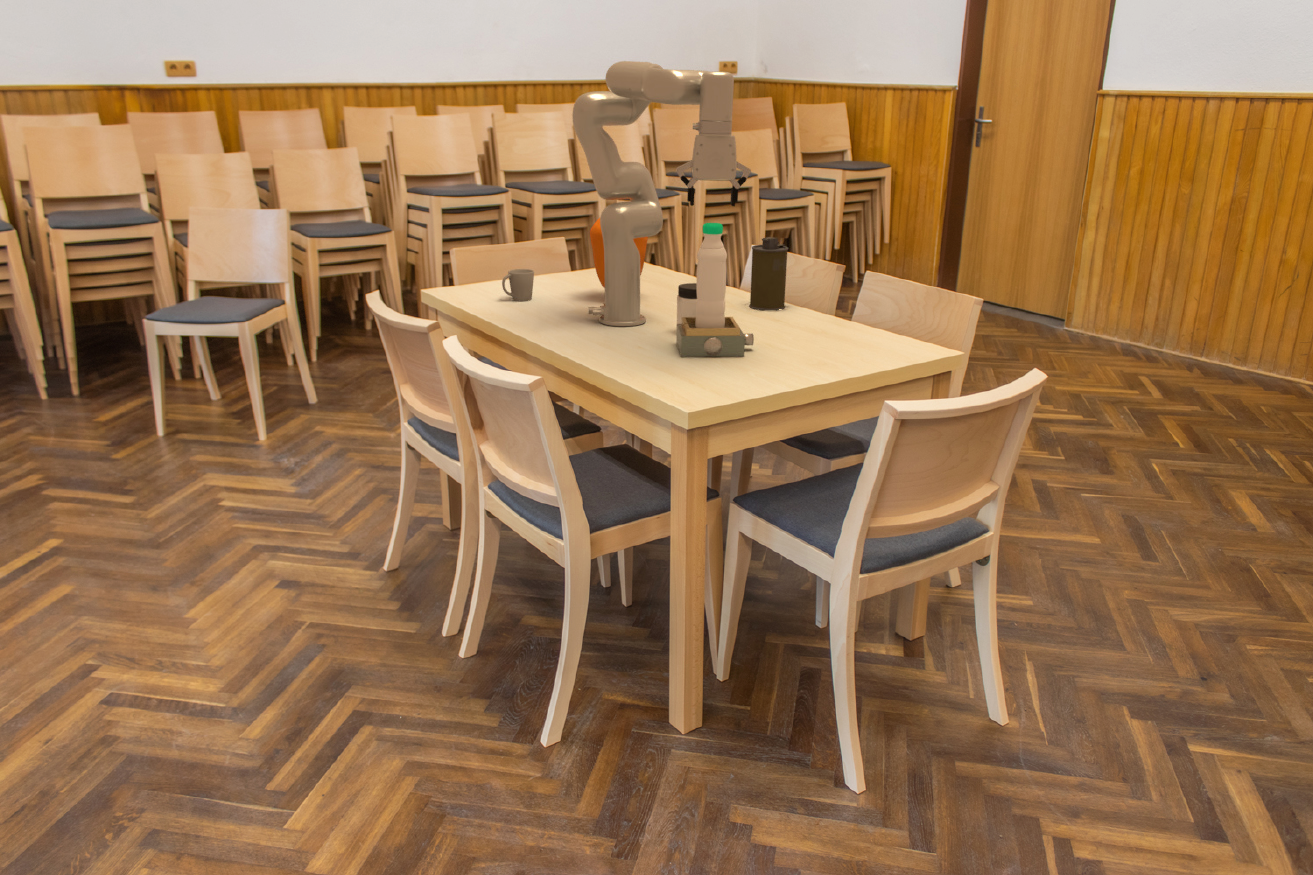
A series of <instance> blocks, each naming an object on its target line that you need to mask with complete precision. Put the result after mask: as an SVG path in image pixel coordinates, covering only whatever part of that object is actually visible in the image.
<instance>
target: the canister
mask: <svg viewBox="0 0 1313 875" xmlns="http://www.w3.org/2000/svg"><path fill="white" fill-rule="evenodd" d="M761 241H762V244H755V245H753V246H751V252H752V253H751V273H750V274H751V275H750V276H751V278H750V302H749V303H750V304H749V308H751V309H752V310H755V309H759V310H758V311H763V310H776V311H780V310H779V309H782V310H784V309H785V308H786V305H785V304H786V302H785V300H786V284H787V263H788V250H789V247H787V245H786V244H782V243H780V242H779V238H778V237H773V236H768V237H763V238H761Z"/></svg>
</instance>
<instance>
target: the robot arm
mask: <svg viewBox="0 0 1313 875" xmlns="http://www.w3.org/2000/svg"><path fill="white" fill-rule="evenodd" d="M734 81H735V78H734V75H733V73H731V72H728V71H707V70H699V69H698V70H695V69H668V68H667V69H665V68H663V66H661V65H659V64H657V63H652V62H648V61H634V60H633V61H631V60H630V61H626V60H623V61H617V62H614V64H612V65H611V66H609V68H608V70H607V71H606V74H605V83H606V84H605V85H606V87H607V88H608V90H607V91H606V90H604V91H603V90H601V91H600V90H598V91H597V90H596V91H588V92H585V93H583V94H581V95H579V96H578V97H577V98H576V100H575V102H574V105H573V108H572V114H571V115H572V125H573V130H574V132H575V134H576V137H577V139H578V141H579V143H580V145H581V147H582V149H583V152H584V155H585V158H586V162H587V165H588V167H589V172H590V175H591V178H592V182H593V185H594V188H595V191H596V193H597V195H598V196H599V197H600V199H602V200H607V201H615V200H618V201H619V200H629V201H619V202H614V203H611V204H609V205H607V206H606V207H604V209H603V210H602V212H601V214H600V217H599V218H600V225H601V231H602V236H603V242H604V264H605V288H604V303H603V305H599V306H587V307H588V310H587V311H588V314H589V315H593V316H598V315H599V321H598V322H600V323H601V324H602V325H606V326H611V327H633V326H638V325H642V324H644V323H646V320H647V318H646V316H645V315H643V314H641V276H640V254H639V251H638V248H637V247H636V245H635V243H634V240H633V239H635V238H641V237H648V238H649V237H653V236H656V235H658V234H659V233H660V232H661V230H662V228H663V223H664V217H663V216H664V215H663V209H662V206H661V203H660V199H659V197H658V193H657V190H656V188H655V187H656V186H655V184H654V183H655V182H654V181H653V178H652V174H651V171H650V170H648V168H647V167H646V166H645V164H642V163H640V162H638V161H623V160H622V158H621V157H620V154H619V153H620V152H619V150H618V147H617V144H616V142H615V141H614V139H613V138H612V137H611V135H610V134H609V133H608V132H607V131H606V130H605V129H604V126H605V127H606V126H607V127H608V126H609V127H611V126H612V127H613V126H614V127H615V126H616V127H617V126H619V127H620V126H621V127H622V126H629V125H632V124H634V123H635V122H636V121H637V120H638V119H640V117H641V116H642V114H643V113H644V112H645V111H646V109H647V108H648V107H649V106H650V104H651V103H655V104H656V103H657V104H662V105H663V104H664V105H674V106H675V105H677V106H679V105H683V106H684V105H685V106H686V105H692V106H693V105H694V106H699V113H698V115H699V117H698V118H699V119H698V121H697V122H695V123H694V122H693V123H692V130H695V131H697V132H698V134H696V135H695V138H694V143H693V149H692V158H691V160H689V161H688V162H685V163H684V164H682V165H679V166H678V167H676V172H677V175H678V177H679V179H680V181H681V182H682V183H683V184H684V185H685V186H686V187H687V203H689V205H690V206H692V207H693V206H694V205H695V187H694V186H695V184H696V183H697V182H698V181H709V182H711V181H714V182H715V181H717V182H718V181H721V182H723V181H725V182H728V181H729V182H730V184H731V185H732V186H731V189H730V206H731V207H735V206H736V203H738V202H739V200H738V199H739V189H740V187H742V185H744V184H745V183H746V182H747V180H748V177H749V176H750V175H751V173H752V170H751V168H749V167H747V166H746V165H743V164H742V163H740V162H739V161H737V142H736V136H735V135H732V132H733V131H732V130H733V127H732V126H733V105H734V89H735V88H734V85H735V82H734ZM690 168H691V177H690V179H688V178H687V176H686V174H685V173H684V172H685V171H686V170H688V169H690ZM737 170H740V171H742V175H741V176H740V178H738V179H736V176H737Z"/></svg>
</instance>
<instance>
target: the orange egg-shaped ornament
mask: <svg viewBox="0 0 1313 875" xmlns="http://www.w3.org/2000/svg"><path fill="white" fill-rule="evenodd" d="M589 237H590V243H591V248H592V259H593V264H594V268H595V272H596V276H597V279H598V280H599V282H600V285H601V286H602V287H603V288H604V289H605V264H604V242H603V236H602V231H601V225H600V217H599V218H598V219H597V220H596V221H595V222H594V224H593V225H592V226H591V228H590V230H589ZM648 239H649V237H641V238H635V239H633V240H634V243H635V245H636V247H637V248H638V251H639V254H640V277H641V275H642V272H643V269H644V264H645V259H646V254H647V253H646V252H647V245H648Z"/></svg>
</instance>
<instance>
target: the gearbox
mask: <svg viewBox="0 0 1313 875" xmlns="http://www.w3.org/2000/svg"><path fill="white" fill-rule="evenodd" d="M695 322H696V317H682V324H677V323H676V333H675V334H676V337H675V338H676V342H675V344H676V347H677V350H678V353H679V355H680V357H681V358H697V357H698V358H701V357H702V358H707V357H709V358H710V357H711V358H715V357H717V358H718V357H719V358H721V357H722V358H723V357H729V358H730V357H732V358H733V357H734V358H735V357H745V346H754V337H755V336H754V333H744V332H743V330H742V329H741V327H740V326H739V325H738V323H737V321H736V320H735V319H734V317H733V316H725V327H724V328H696V326H695Z"/></svg>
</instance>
